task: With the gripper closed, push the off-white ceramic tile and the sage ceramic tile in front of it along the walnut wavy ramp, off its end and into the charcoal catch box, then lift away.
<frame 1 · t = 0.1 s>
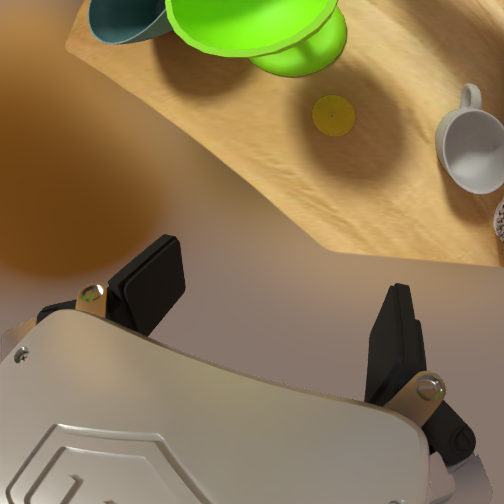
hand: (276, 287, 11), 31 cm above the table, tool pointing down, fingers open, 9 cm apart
wineglass: (290, 28, 29), on the table
lemon: (335, 114, 34), on the table
teacup: (460, 132, 28), on the table
plant pot: (177, 4, 30), on the table
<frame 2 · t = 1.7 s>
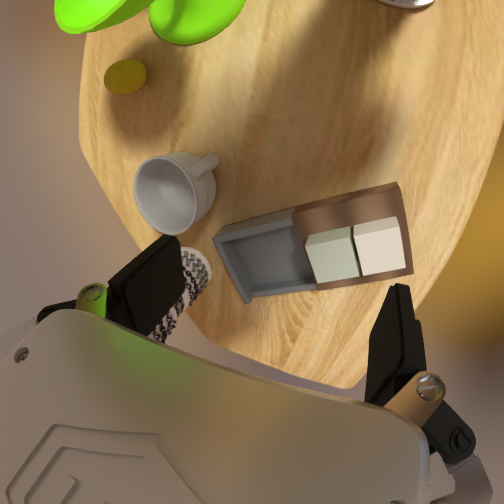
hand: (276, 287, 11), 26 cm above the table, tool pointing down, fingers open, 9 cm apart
catch box: (272, 252, 42), on the table
white tile: (379, 240, 32), point 3 cm above the table, touching walnut wavy ramp
lemon: (144, 76, 34), on the table
decorative candle: (191, 265, 49), on the table
walnut wavy ramp: (357, 234, 36), on the table
teacup: (200, 175, 40), on the table
sage tile: (334, 249, 35), point 3 cm above the table, touching walnut wavy ramp
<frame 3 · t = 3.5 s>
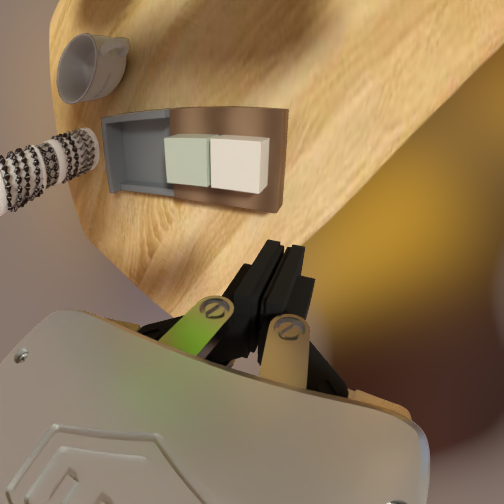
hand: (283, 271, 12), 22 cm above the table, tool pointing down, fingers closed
catch box: (150, 149, 37), on the table
white tile: (244, 159, 30), point 3 cm above the table, touching walnut wavy ramp
decorative candle: (86, 148, 41), on the table
walnut wavy ramp: (230, 152, 33), on the table
teacup: (119, 63, 31), on the table
sage tile: (198, 155, 31), point 3 cm above the table, touching walnut wavy ramp
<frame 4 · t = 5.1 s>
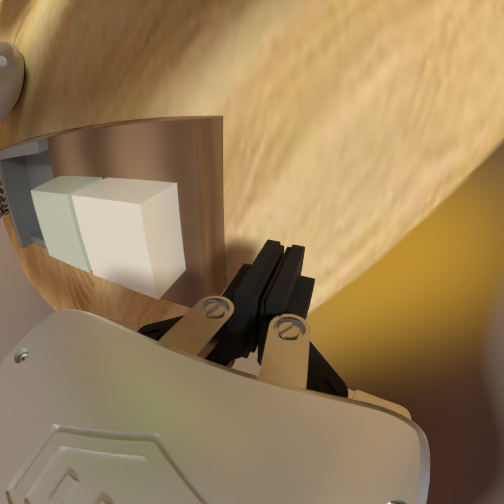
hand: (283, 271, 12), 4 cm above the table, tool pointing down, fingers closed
catch box: (53, 189, 23), on the table
white tile: (144, 222, 16), point 3 cm above the table, touching walnut wavy ramp
decorative candle: (7, 182, 27), on the table
walnut wavy ramp: (138, 199, 19), on the table
teacup: (21, 73, 17), on the table
sage tile: (85, 211, 17), point 3 cm above the table, touching walnut wavy ramp
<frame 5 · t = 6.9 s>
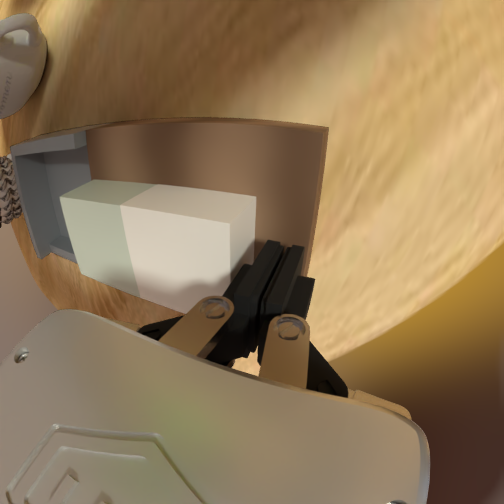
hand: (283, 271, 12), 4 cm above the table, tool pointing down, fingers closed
catch box: (80, 193, 21), on the table
white tile: (204, 238, 15), point 3 cm above the table, touching gripper
decorative candle: (18, 181, 25), on the table
walnut wavy ramp: (204, 211, 17), on the table
teacup: (42, 56, 15), on the table
sage tile: (128, 223, 16), point 3 cm above the table
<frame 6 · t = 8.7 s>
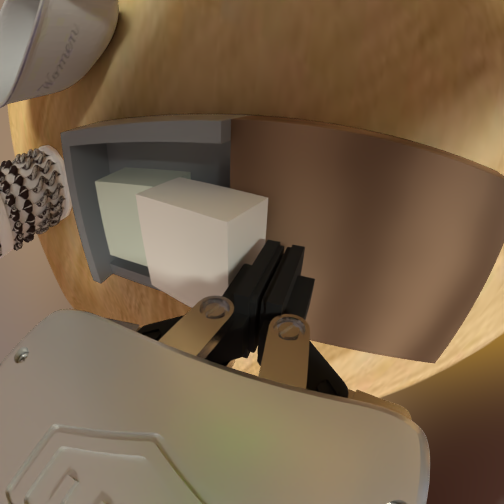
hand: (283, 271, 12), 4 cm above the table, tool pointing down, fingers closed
catch box: (168, 201, 18), on the table
white tile: (219, 234, 15), point 3 cm above the table, tilted 12°, touching gripper, sage tile
decorative candle: (52, 181, 22), on the table
walnut wavy ramp: (365, 238, 15), on the table
teacup: (105, 21, 12), on the table
sage tile: (158, 207, 18), point 1 cm above the table, touching catch box, white tile
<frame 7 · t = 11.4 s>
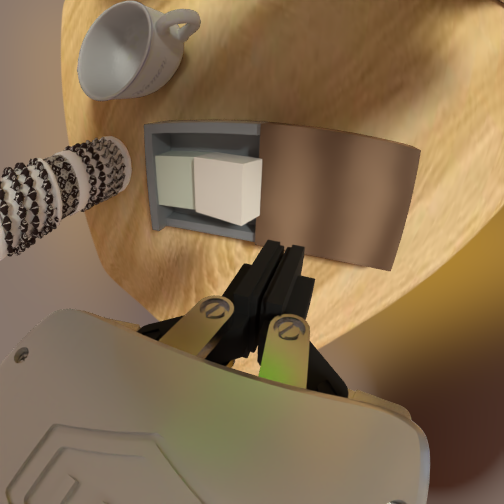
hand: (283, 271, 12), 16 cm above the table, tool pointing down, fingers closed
catch box: (212, 173, 29), on the table
white tile: (236, 182, 26), point 2 cm above the table, tilted 15°, touching sage tile, walnut wavy ramp
decorative candle: (111, 164, 33), on the table
walnut wavy ramp: (334, 190, 26), on the table
teacup: (168, 52, 24), on the table
sage tile: (192, 175, 29), point 1 cm above the table, touching catch box, white tile
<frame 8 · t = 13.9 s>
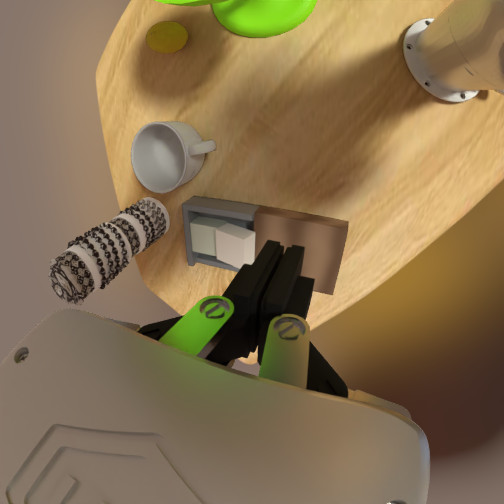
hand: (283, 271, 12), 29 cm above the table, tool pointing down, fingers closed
catch box: (226, 232, 48), on the table
white tile: (240, 242, 45), point 2 cm above the table, tilted 15°, touching sage tile, walnut wavy ramp
lemon: (182, 40, 33), on the table
decorative candle: (153, 216, 52), on the table
walnut wavy ramp: (299, 246, 45), on the table
teacup: (193, 147, 42), on the table
sage tile: (213, 232, 49), point 1 cm above the table, touching catch box, white tile
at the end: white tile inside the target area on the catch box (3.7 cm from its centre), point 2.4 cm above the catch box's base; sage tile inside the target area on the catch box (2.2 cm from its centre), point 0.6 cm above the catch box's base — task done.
